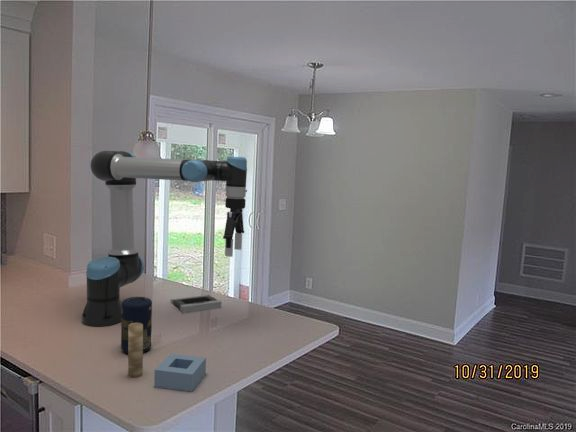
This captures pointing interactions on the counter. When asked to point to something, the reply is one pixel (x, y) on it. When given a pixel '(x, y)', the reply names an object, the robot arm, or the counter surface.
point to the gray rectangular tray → (196, 303)
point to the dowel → (135, 350)
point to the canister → (136, 319)
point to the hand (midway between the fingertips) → (233, 252)
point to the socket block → (180, 372)
